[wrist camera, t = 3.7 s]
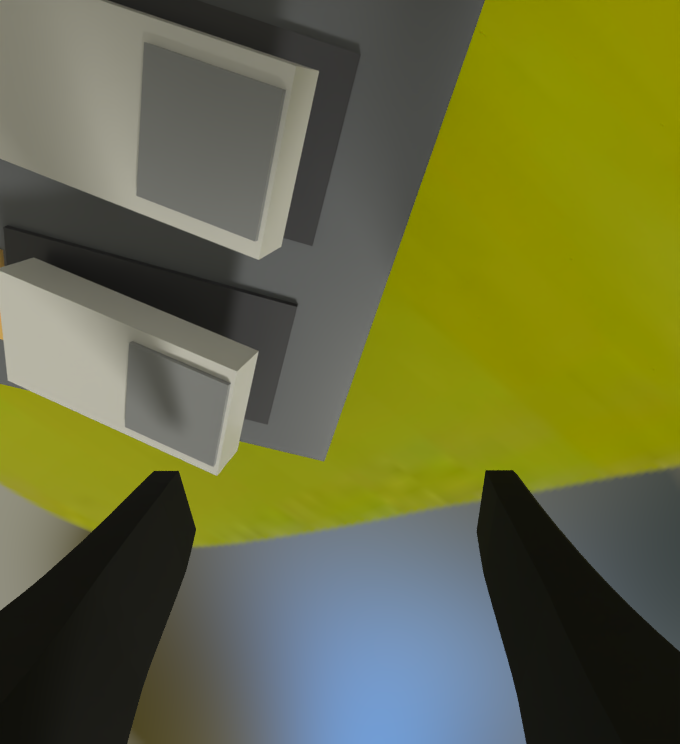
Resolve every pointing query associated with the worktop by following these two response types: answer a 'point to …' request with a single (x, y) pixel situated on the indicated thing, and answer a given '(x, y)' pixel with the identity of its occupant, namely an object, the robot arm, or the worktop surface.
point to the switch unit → (307, 209)
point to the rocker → (125, 363)
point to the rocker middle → (154, 117)
